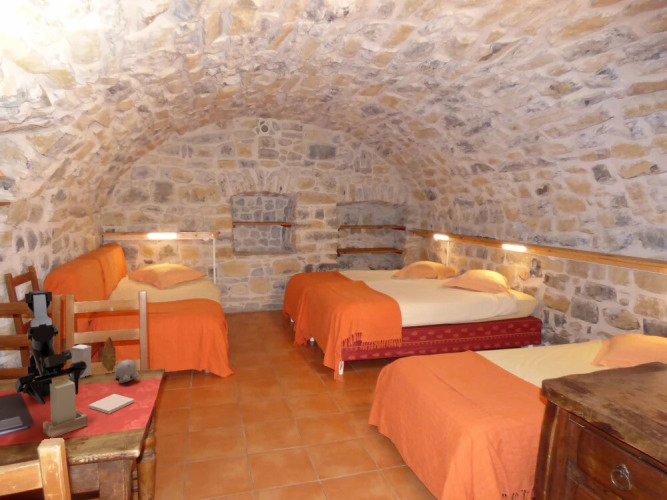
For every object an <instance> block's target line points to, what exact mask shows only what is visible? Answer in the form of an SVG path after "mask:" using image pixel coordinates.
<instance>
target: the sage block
mask: <svg viewBox="0 0 667 500" xmlns="http://www.w3.org/2000/svg"><path fill="white" fill-rule="evenodd" d="M49 396H50V397H49V398H50V401H49V402H50V424H51V425H53V426H56V425H59V424H62V423H64V422H67V421H70V420H73V419H76V411H77V409H76V394H75V383H74V382H72V381H70V380H69V379H68V378H66V379H63V380H61V381H56V382H52V384H50V394H49Z"/></svg>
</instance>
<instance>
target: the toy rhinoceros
mask: <svg viewBox="0 0 667 500" xmlns="http://www.w3.org/2000/svg"><path fill="white" fill-rule="evenodd" d="M114 377H115V378H116V379H118V380H119V381H118V382H119V383H120V384H123V383H124V384H125V383H126V382H130V381H133V380H135V379H137V378H139V377H140V375H139V373H138V371H137V364H136V363H135V361H133V360H132V359H124V360H122V361H120V362H118V364H117V366H116V365H115V366H114Z"/></svg>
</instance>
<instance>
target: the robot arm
mask: <svg viewBox="0 0 667 500" xmlns="http://www.w3.org/2000/svg"><path fill="white" fill-rule="evenodd" d="M52 302H53V292H52V291H49V290H47V289H46V290H32V291H28V292H26V293H24V303H25V305H27V310H28V311H29V313H30V314H31V315H32V319H31V320H30V322H29V327H28V328H27V340H28V341H30V342H31V347H30V350H31V353H32V355H30V358H29V364H27V374H24V375H20V376H19V377H18V378H17V379H16V383H15V385H14V389H15V392H16V393H18V394H19V393H22V394H27V396H30V397H31V398H33V399H34V400H36V401H37V402H38V403H40V404H41V405H42V406H45V404H46V400H45V397H46V396H50V384H52V383H53V379H56V378H60V377H64V376H67V375H68V377H69V379H68V380H70V381H72V382H74V383H75V396H77V395H78V394H79V384H80V383H79V381H80V376H81V375H82V374H83V373H84V371H85V370H86V368H87V365H86V362H84V361H79V362H75V363H72V362H71V364H70V366H69V367H68V368H64V367H65V364H66V363H67V361H69V360H72V351H71V350H70V349H64V350H63V351H61V353H56V351H55V348H54V344H55V343H54V342H55V337H57V335H59V329H58V327H57V326H56V325H55V324H54V323H53V319H52V318H51V317H50V316H49V313H48V310H49V309H50V307H51V303H52Z"/></svg>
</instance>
